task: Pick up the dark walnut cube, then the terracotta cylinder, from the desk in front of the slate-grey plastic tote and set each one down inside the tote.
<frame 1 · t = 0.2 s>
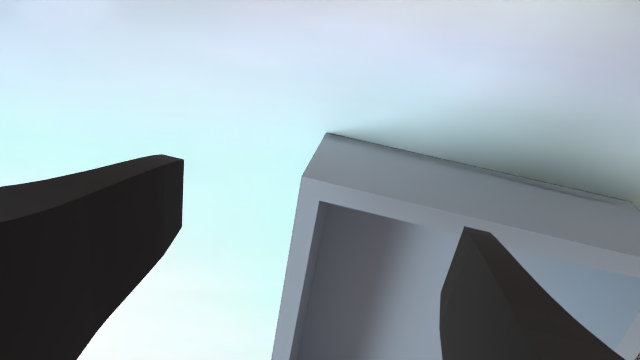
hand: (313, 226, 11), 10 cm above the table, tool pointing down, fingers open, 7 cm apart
tote: (421, 314, 24), on the table
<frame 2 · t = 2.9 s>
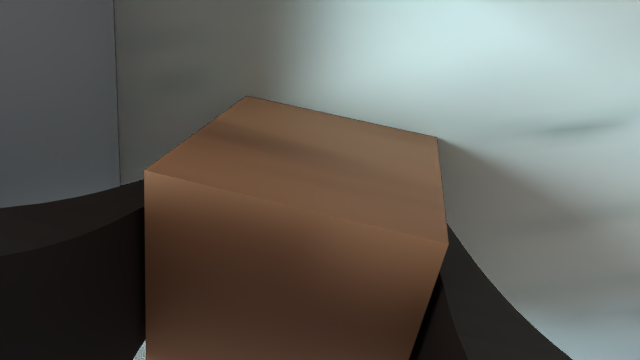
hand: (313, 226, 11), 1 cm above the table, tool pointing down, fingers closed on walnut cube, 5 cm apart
walnut cube: (323, 200, 13), on the table, touching gripper
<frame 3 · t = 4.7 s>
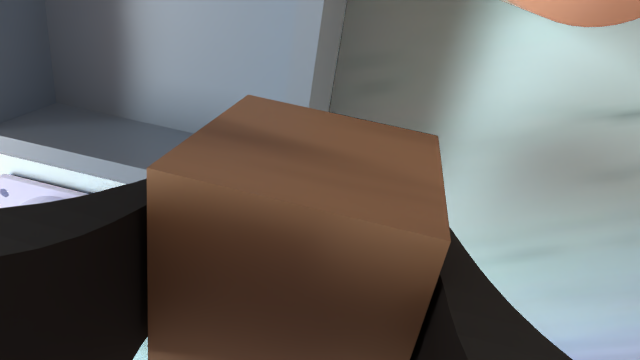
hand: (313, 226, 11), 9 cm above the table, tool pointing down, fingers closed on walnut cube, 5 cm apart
walnut cube: (324, 199, 13), point 8 cm above the table, touching gripper
when the fingers open (4 cm above the table, at t = 6.8 s): walnut cube drops 2 cm, resting on tote.
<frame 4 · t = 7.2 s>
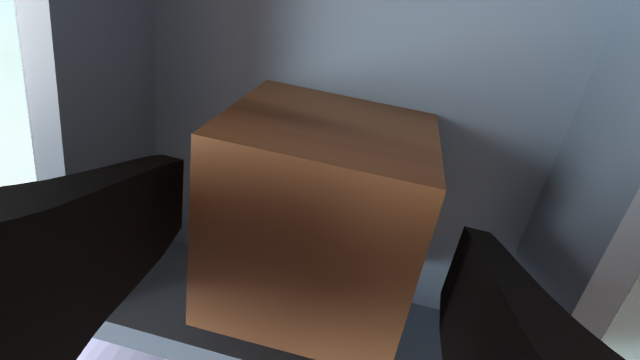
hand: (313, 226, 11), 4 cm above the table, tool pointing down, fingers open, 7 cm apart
walnut cube: (335, 174, 14), point 1 cm above the table, touching tote
tote: (362, 43, 13), on the table
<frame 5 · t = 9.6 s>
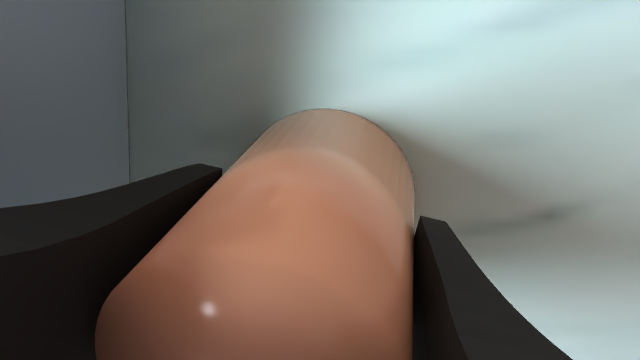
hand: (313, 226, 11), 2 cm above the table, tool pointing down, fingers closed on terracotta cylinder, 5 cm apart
terracotta cylinder: (326, 192, 13), on the table, touching gripper
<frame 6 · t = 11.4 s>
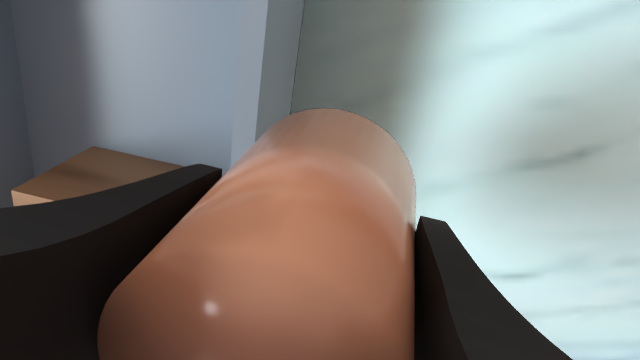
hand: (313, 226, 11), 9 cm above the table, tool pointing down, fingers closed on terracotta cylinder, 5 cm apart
terracotta cylinder: (327, 192, 13), point 7 cm above the table, touching gripper
walnut cube: (142, 201, 23), point 1 cm above the table, touching tote
tote: (149, 124, 22), on the table
when the fingers open (4 cm above the table, at t = 13.4 s): terracotta cylinder drops 2 cm, resting on tote.
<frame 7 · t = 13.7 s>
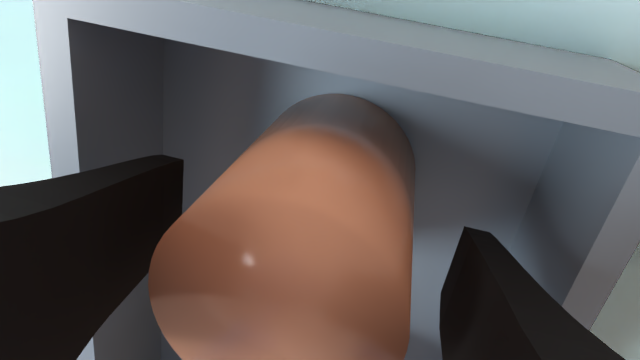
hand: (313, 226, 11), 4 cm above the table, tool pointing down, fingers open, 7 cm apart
terracotta cylinder: (336, 170, 15), point 1 cm above the table, touching tote
tote: (320, 256, 17), on the table
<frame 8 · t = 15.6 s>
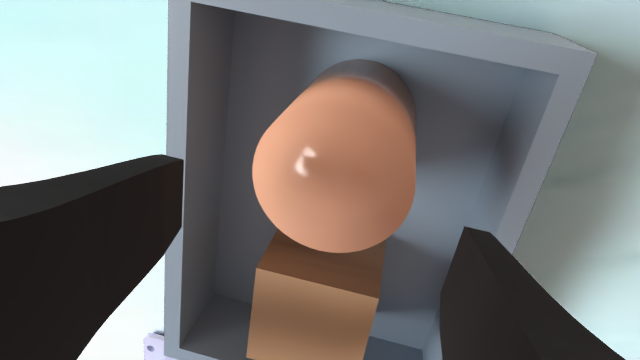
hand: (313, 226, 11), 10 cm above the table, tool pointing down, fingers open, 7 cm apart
terracotta cylinder: (358, 117, 20), point 1 cm above the table, touching tote
walnut cube: (328, 262, 24), point 1 cm above the table, touching tote
tote: (344, 189, 23), on the table
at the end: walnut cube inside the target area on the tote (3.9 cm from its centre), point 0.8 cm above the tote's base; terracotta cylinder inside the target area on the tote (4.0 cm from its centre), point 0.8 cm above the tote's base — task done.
